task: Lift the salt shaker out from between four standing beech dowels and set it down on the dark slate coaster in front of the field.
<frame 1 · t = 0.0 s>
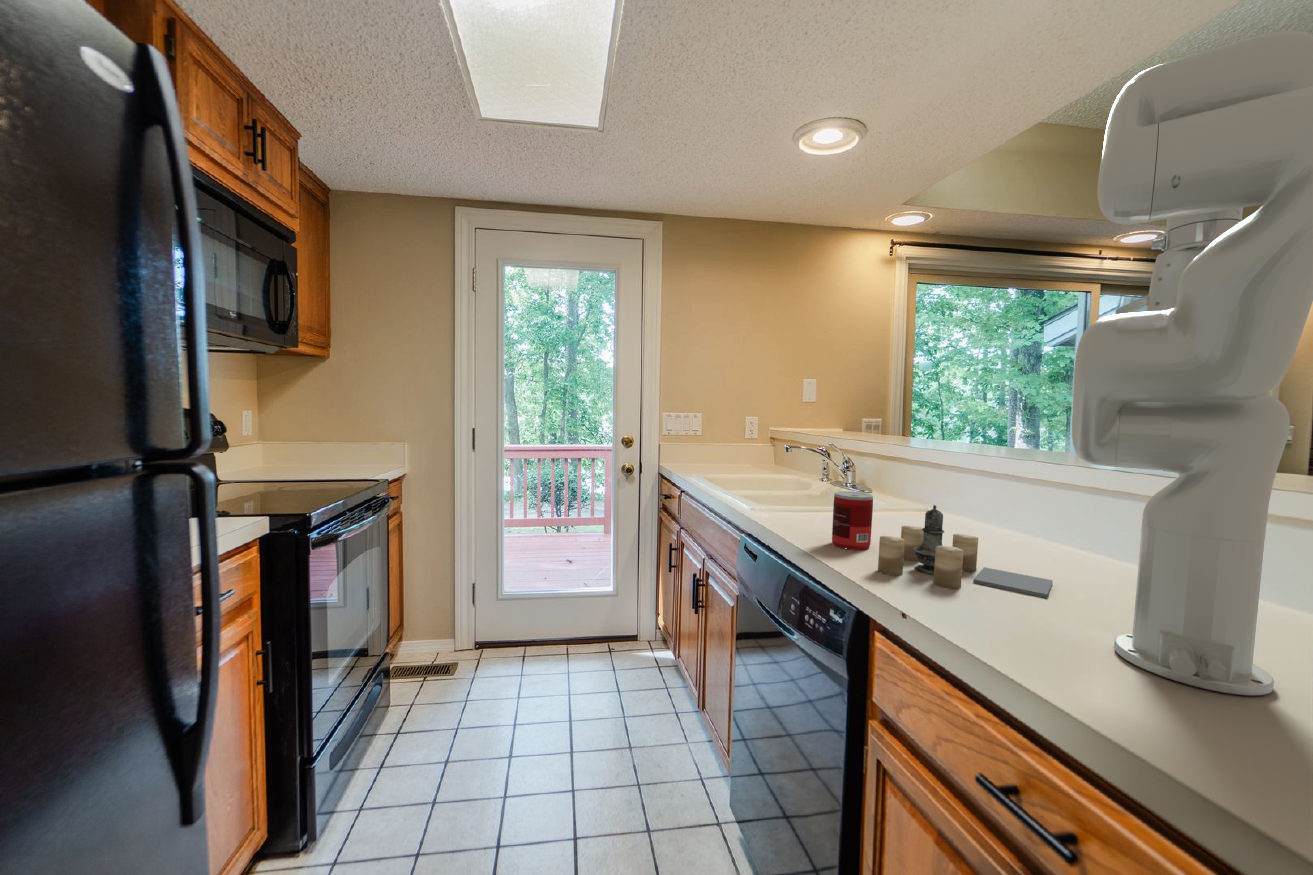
hand: (1190, 362, 75), 37 cm above the worktop, tool pointing down, fingers open, 9 cm apart
canned food: (850, 546, 110), on the worktop
coaster: (1013, 583, 88), on the worktop
dowel front right: (947, 584, 86), on the worktop
salt shaker: (930, 571, 94), on the worktop
dowel back left: (911, 558, 102), on the worktop
dowel back right: (963, 568, 96), on the worktop
dowel front left: (890, 572, 92), on the worktop
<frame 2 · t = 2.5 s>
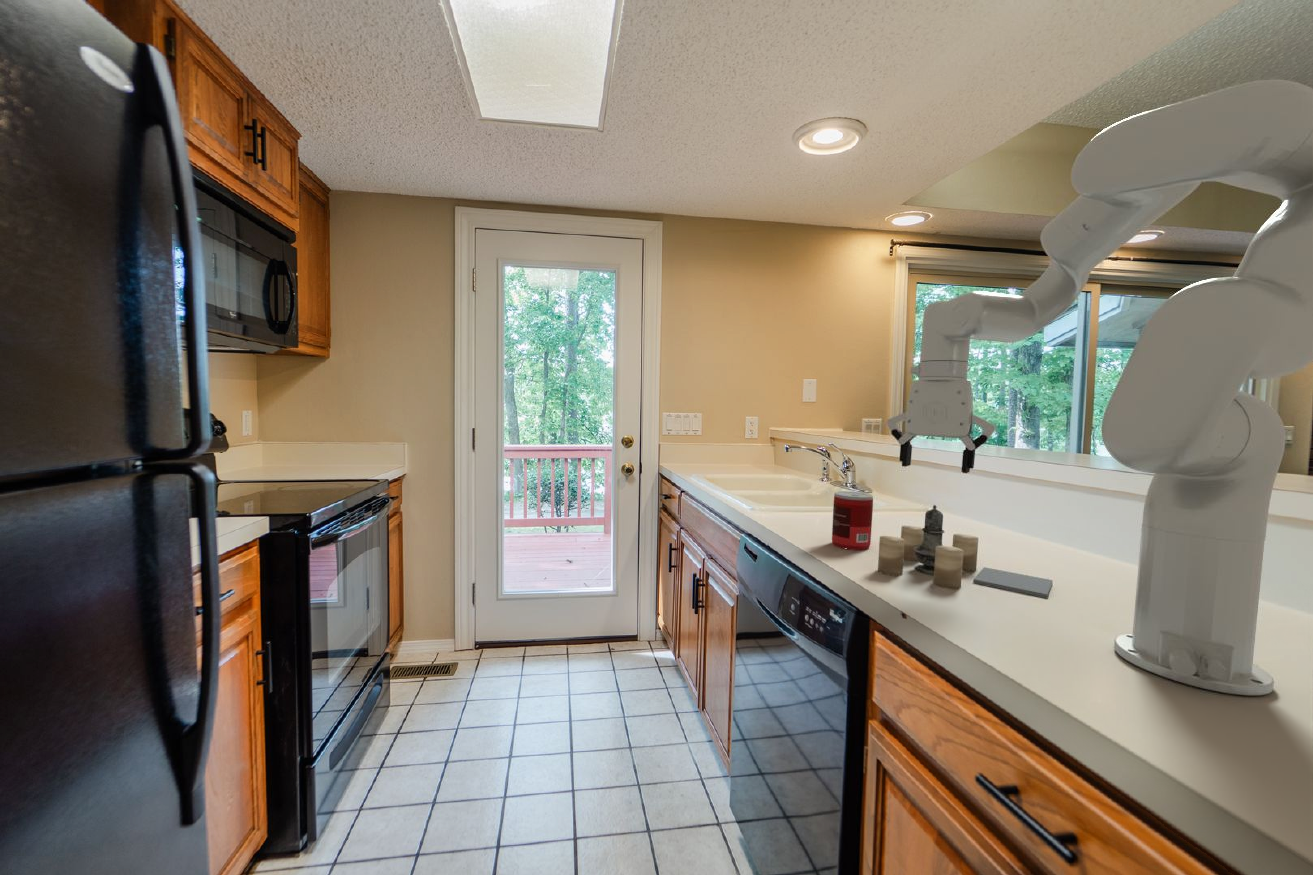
hand: (934, 469, 93), 18 cm above the worktop, tool pointing down, fingers open, 9 cm apart
nothing on the worktop moved.
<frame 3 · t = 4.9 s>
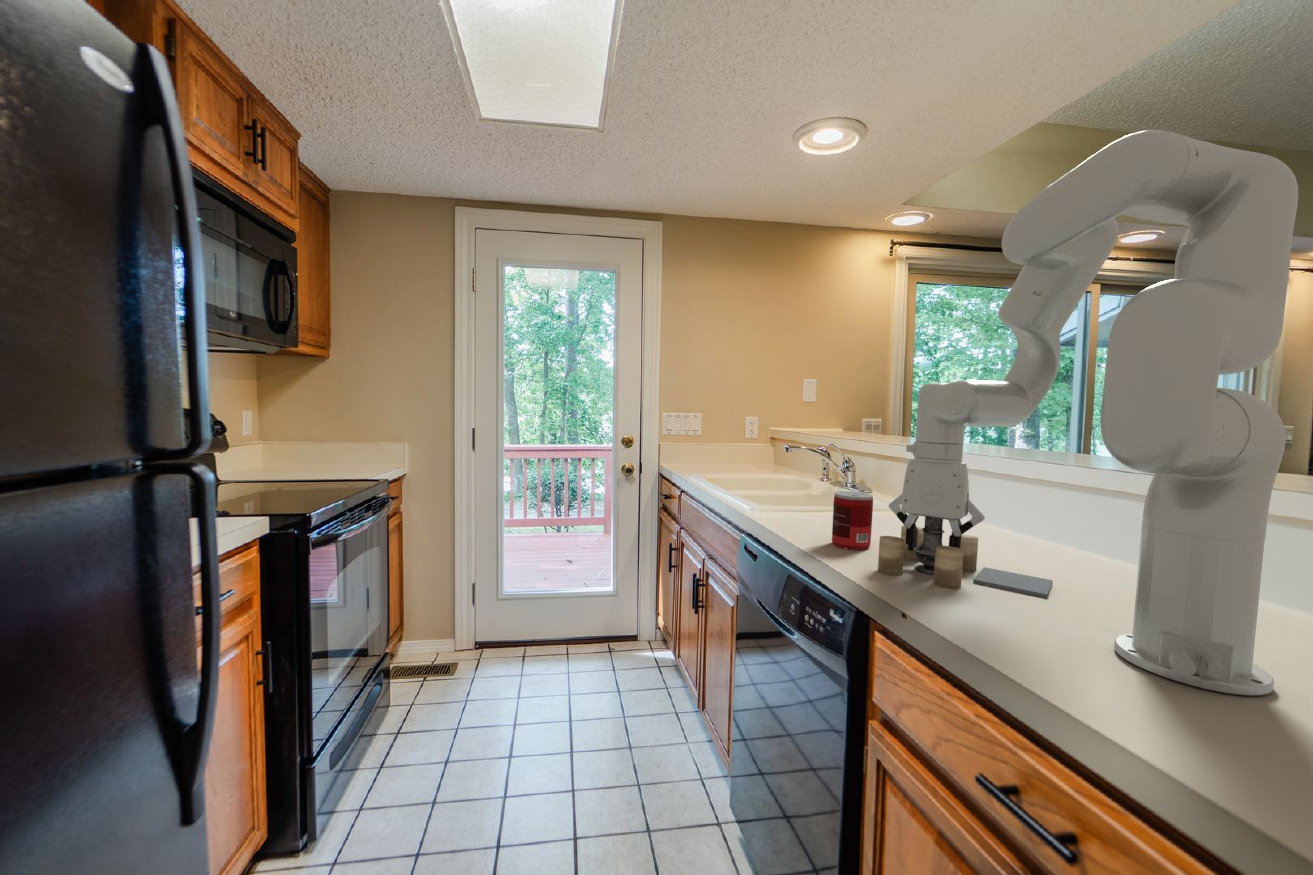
hand: (931, 552, 94), 3 cm above the worktop, tool pointing down, fingers closed on salt shaker, 5 cm apart
salt shaker: (930, 571, 94), on the worktop, touching gripper
everything else where it was.
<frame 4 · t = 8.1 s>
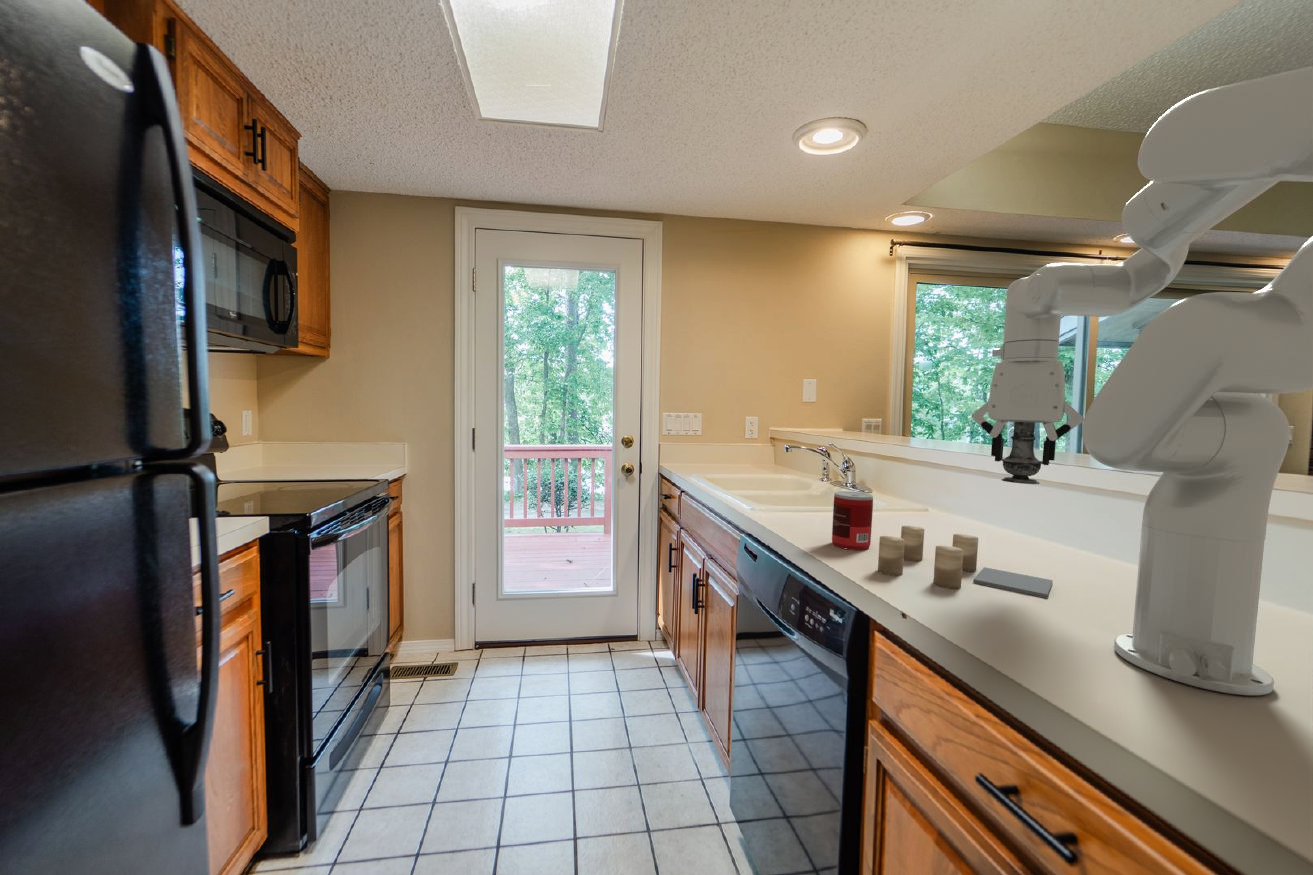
hand: (1021, 461, 87), 21 cm above the worktop, tool pointing down, fingers closed on salt shaker, 5 cm apart
salt shaker: (1020, 482, 88), point 17 cm above the worktop, touching gripper
everything else where it was.
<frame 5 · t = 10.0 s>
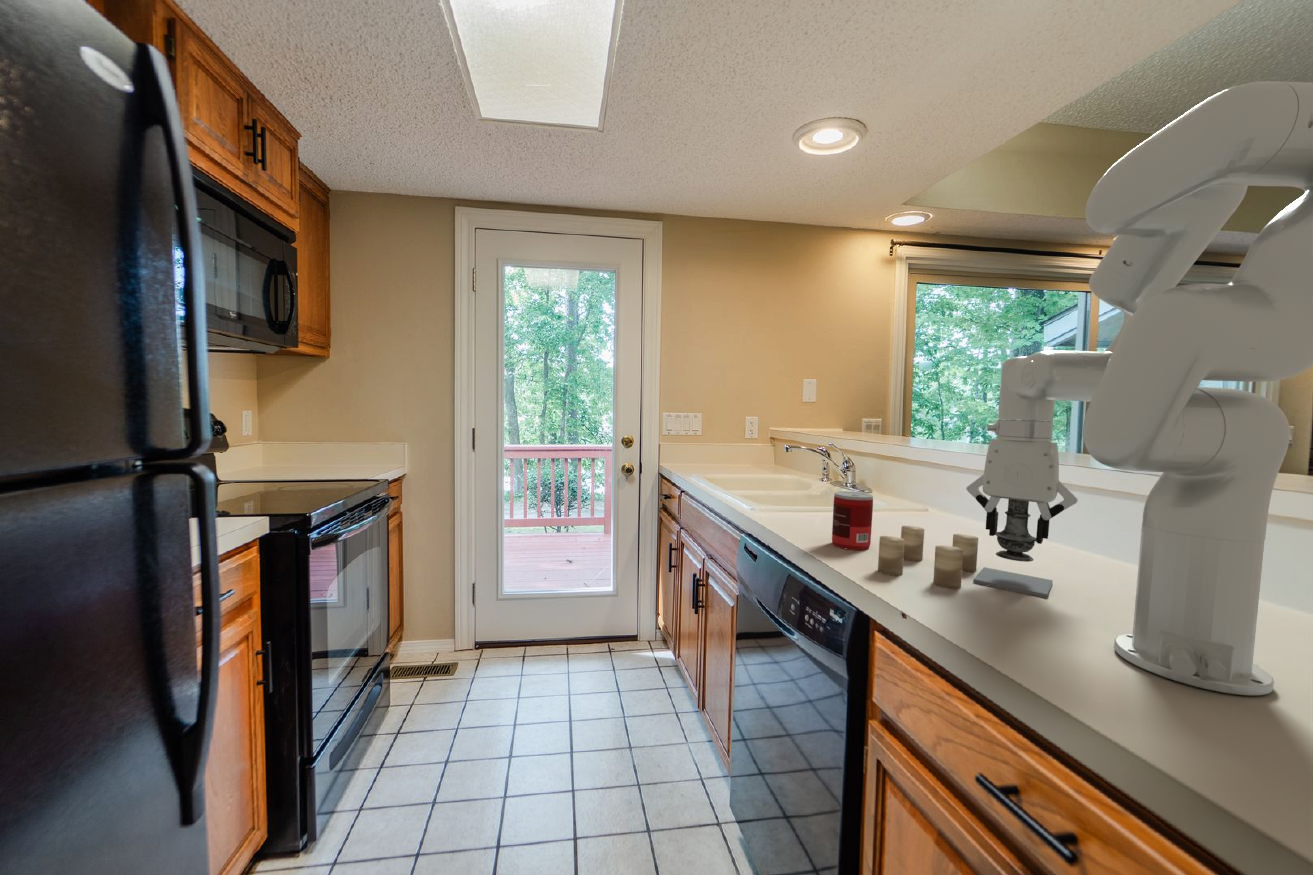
hand: (1015, 537, 88), 8 cm above the worktop, tool pointing down, fingers closed on salt shaker, 5 cm apart
salt shaker: (1014, 558, 88), point 4 cm above the worktop, touching gripper
everything else where it was.
when the fingers open (5 cm above the worktop, at t = 11.6 s): salt shaker stays where it is, resting on coaster.
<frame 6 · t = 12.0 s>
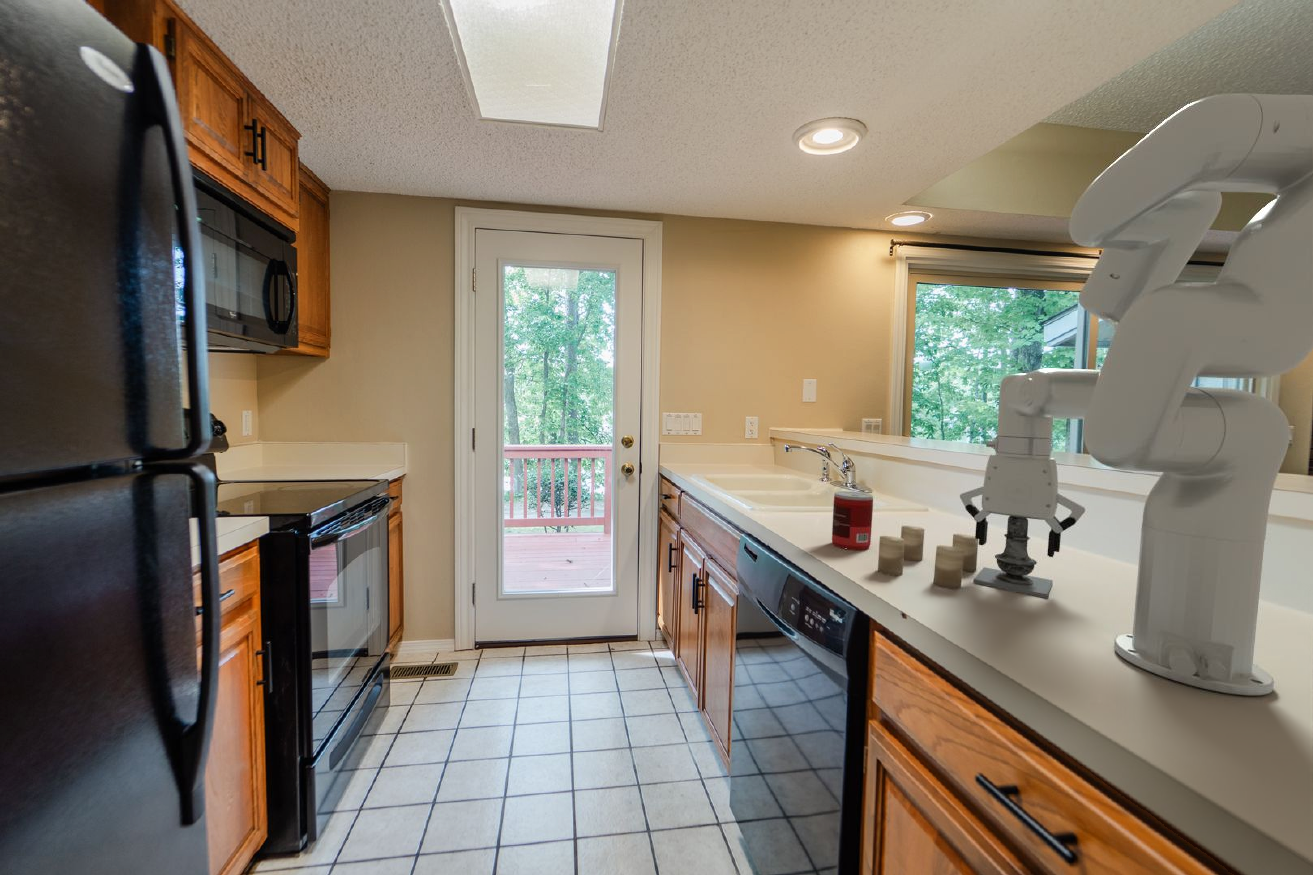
hand: (1015, 549, 88), 6 cm above the worktop, tool pointing down, fingers open, 9 cm apart
salt shaker: (1013, 580, 88), resting on coaster
everything else where it was.
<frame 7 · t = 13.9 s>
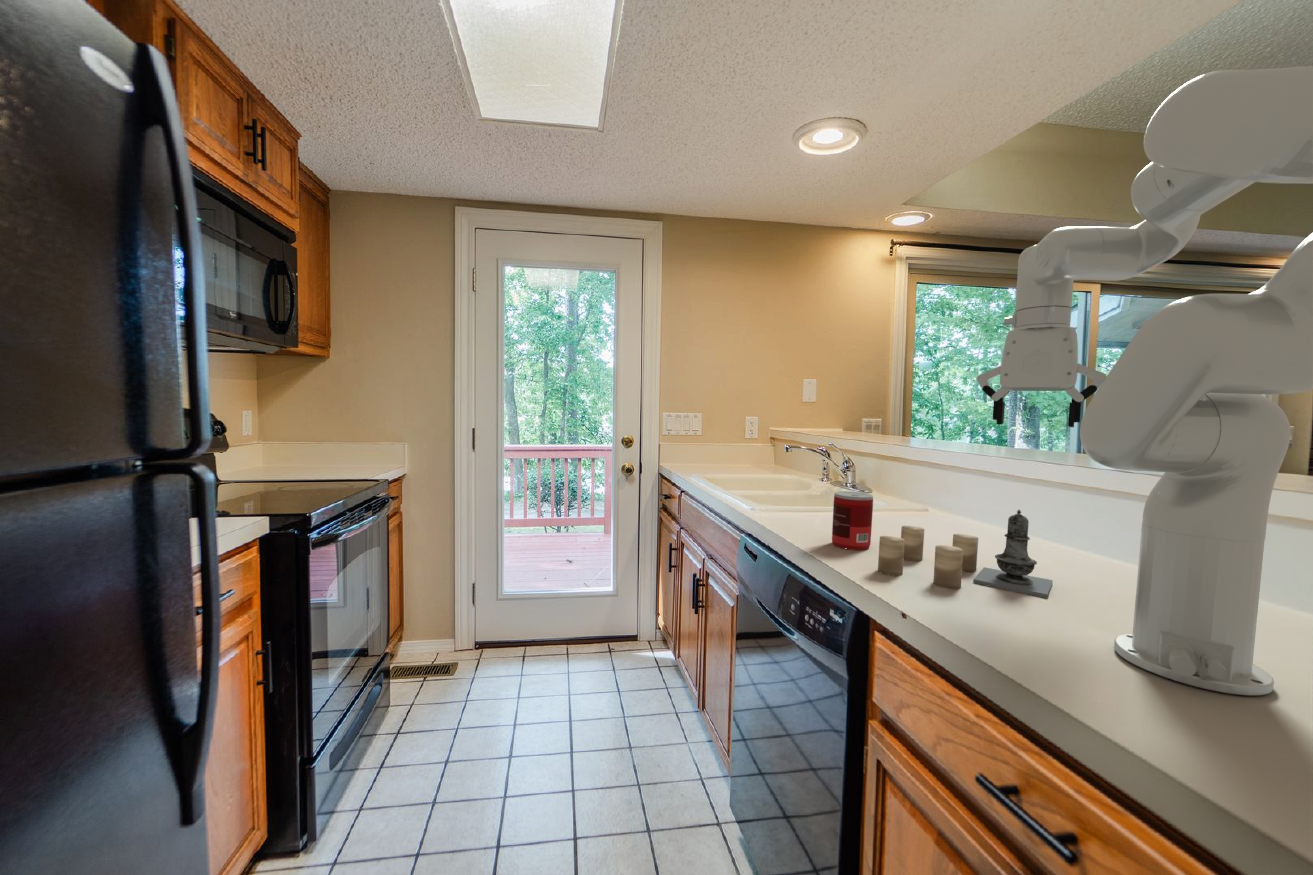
hand: (1034, 425, 87), 27 cm above the worktop, tool pointing down, fingers open, 9 cm apart
nothing on the worktop moved.
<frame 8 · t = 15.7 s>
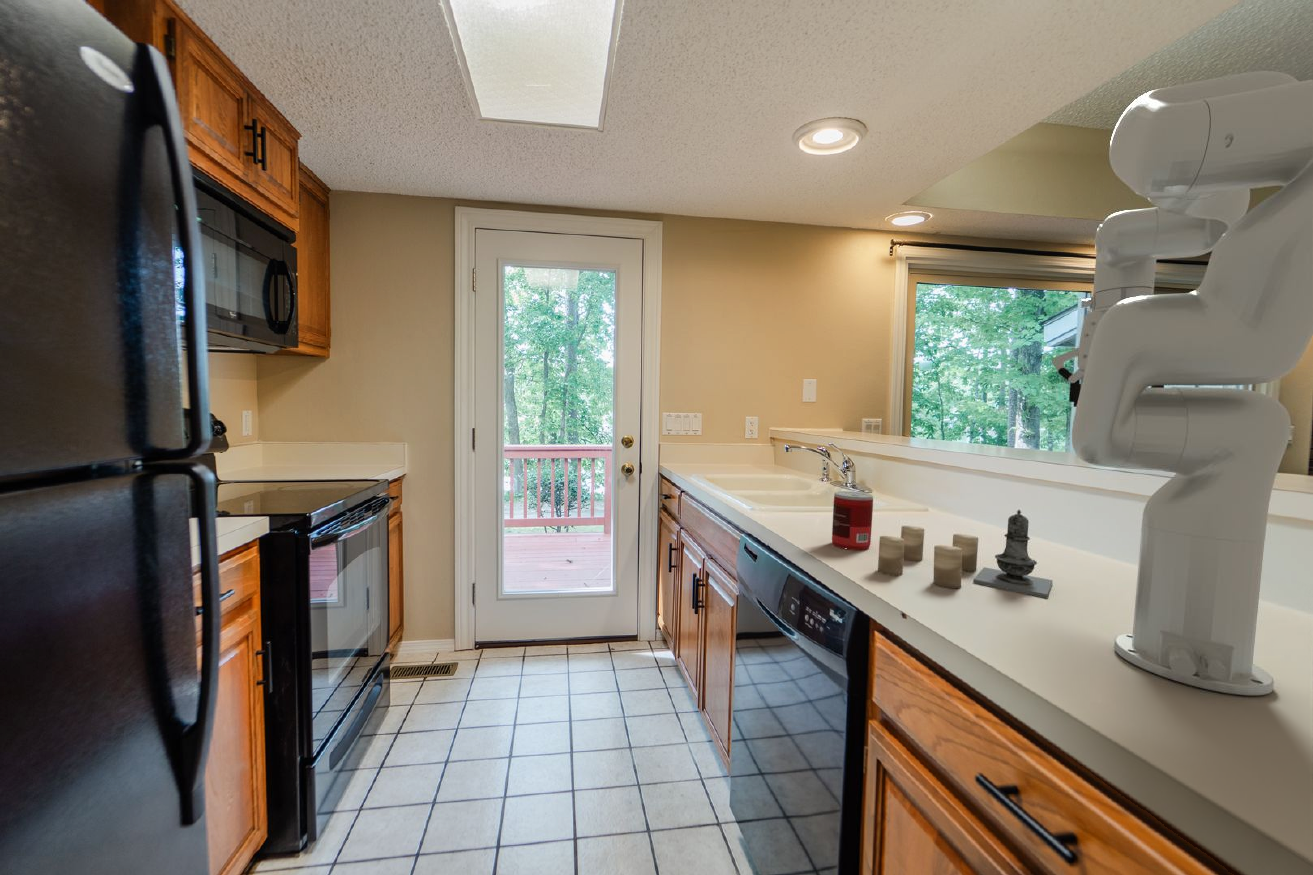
hand: (1113, 407, 87), 30 cm above the worktop, tool pointing down, fingers open, 9 cm apart
nothing on the worktop moved.
at the end: salt shaker inside the target area on the coaster (0.1 cm from its centre), point 0.4 cm above the coaster's base; salt shaker tilted 0°; the gripper is holding nothing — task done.
